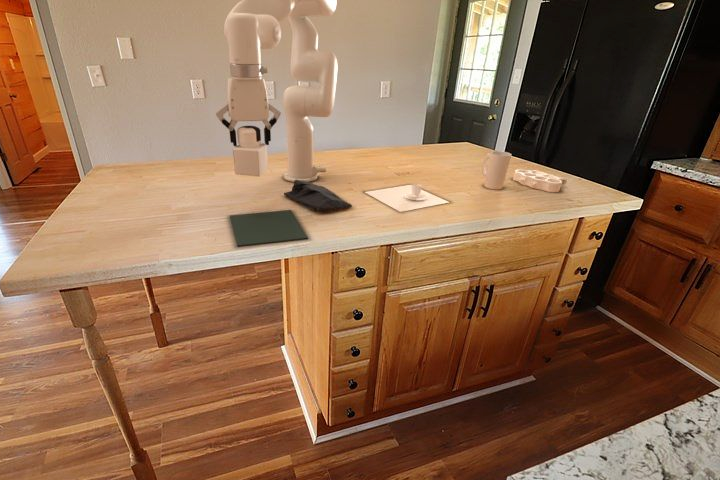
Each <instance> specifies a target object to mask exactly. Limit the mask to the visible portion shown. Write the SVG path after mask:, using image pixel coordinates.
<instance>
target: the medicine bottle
mask: <svg viewBox="0 0 720 480" xmlns="http://www.w3.org/2000/svg"><path fill="white" fill-rule="evenodd" d="M236 135H237V143H238V144H237V146H234V147H233V148H232V155H233V165H234V174H235V175H238V176H250V177H261V176H262V175H263V174H264V173H265V172H266V171H267V170H268V168H269V167H268V165H269V164H268V147H267V146H268V145H266V144H265V142H264V143H262V135H261V129H260V127H258V126H255V125H241V126H240V127H238V128H237V130H236Z"/></svg>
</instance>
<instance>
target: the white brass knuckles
mask: <svg viewBox="0 0 720 480" xmlns="http://www.w3.org/2000/svg"><path fill="white" fill-rule="evenodd" d="M512 180H513V181H515V182H518V183H519V184H520V185H523V186H526V187H529V188H531V189H536V190H541V191H545V192H547V193H559V192H560V190H561V188H562V187H563V186H565V185H566V184H567V183H568V180H567V179H566V178H565V177H560V176H556V175H554V174H552V173H547V172H543V171H540V170H539V169H536V170H528V169H515V171H514V173H513V176H512Z"/></svg>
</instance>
